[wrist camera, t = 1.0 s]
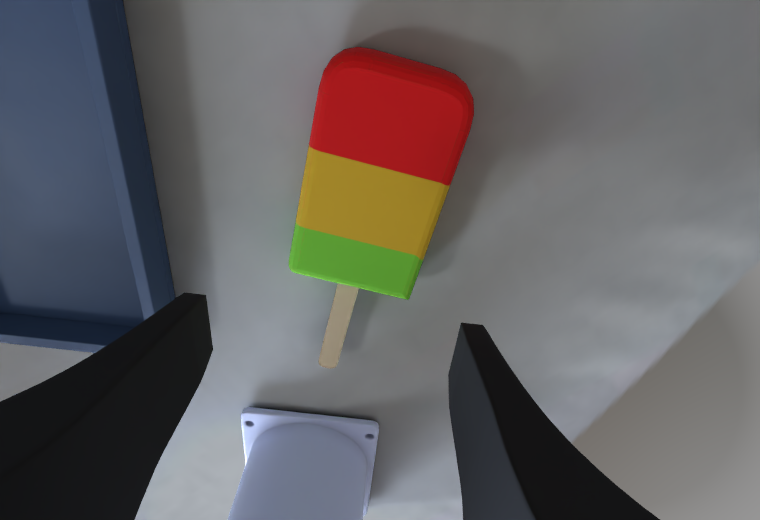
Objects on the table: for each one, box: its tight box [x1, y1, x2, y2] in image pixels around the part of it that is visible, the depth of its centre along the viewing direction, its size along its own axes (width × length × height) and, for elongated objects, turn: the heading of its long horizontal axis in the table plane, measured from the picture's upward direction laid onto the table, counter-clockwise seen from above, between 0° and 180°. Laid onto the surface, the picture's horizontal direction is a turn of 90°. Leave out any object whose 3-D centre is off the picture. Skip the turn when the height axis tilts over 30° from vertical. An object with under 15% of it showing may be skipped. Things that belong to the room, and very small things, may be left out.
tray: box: [0, 0, 175, 353], centre depth 18 cm, size 18×10×2 cm, turn 175°
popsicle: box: [289, 47, 474, 368], centre depth 20 cm, size 6×15×2 cm, turn 166°
